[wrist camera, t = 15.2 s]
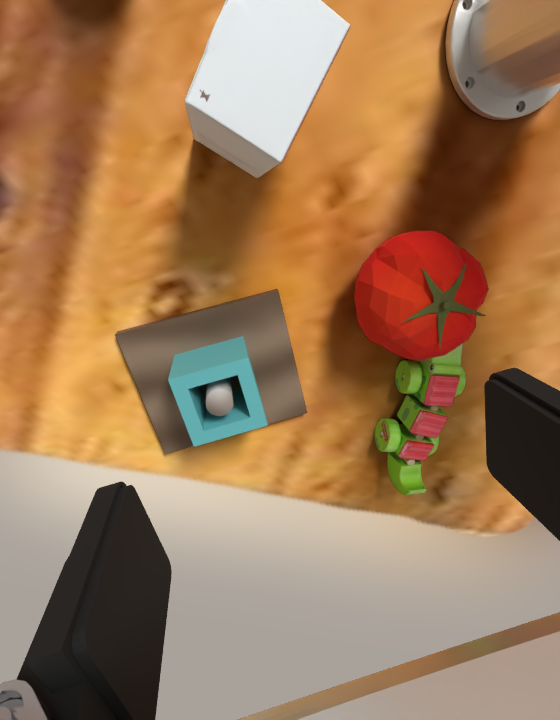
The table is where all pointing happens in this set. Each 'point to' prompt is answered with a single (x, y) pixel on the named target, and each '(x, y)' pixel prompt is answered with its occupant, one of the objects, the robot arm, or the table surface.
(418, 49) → the table surface
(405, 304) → the tomato
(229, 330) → the post board
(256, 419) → the bead
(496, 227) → the table surface
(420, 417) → the toy crocodile
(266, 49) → the small box
